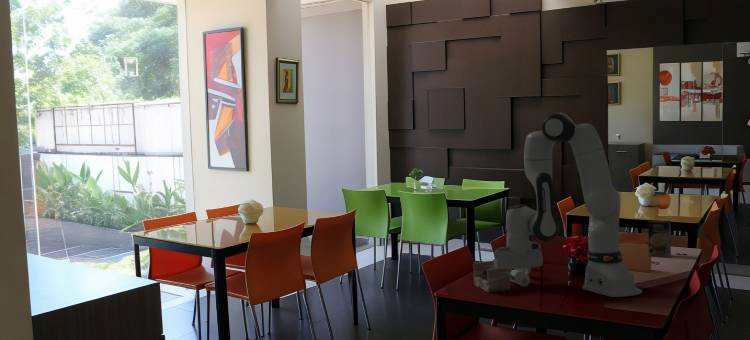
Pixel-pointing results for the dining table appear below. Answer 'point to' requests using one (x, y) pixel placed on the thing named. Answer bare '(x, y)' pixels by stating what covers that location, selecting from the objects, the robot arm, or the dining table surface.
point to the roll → (520, 278)
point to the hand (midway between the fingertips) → (518, 279)
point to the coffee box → (659, 238)
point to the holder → (491, 276)
